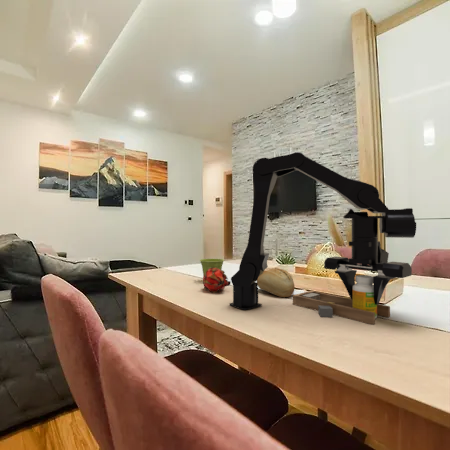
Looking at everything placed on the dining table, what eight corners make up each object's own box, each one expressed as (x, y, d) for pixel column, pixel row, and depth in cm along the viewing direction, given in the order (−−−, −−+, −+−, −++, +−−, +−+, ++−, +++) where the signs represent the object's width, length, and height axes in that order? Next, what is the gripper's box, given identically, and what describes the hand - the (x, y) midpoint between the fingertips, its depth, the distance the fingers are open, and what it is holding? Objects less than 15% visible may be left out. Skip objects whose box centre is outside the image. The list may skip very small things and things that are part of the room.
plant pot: (202, 279, 120) (202, 258, 120) (225, 280, 119) (225, 258, 119) (197, 284, 111) (197, 261, 111) (222, 284, 110) (222, 261, 110)
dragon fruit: (211, 291, 106) (223, 304, 95) (193, 279, 103) (203, 291, 92) (225, 271, 107) (238, 282, 96) (207, 259, 104) (219, 268, 93)
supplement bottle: (367, 321, 68) (366, 279, 68) (347, 315, 73) (347, 275, 73) (382, 317, 70) (382, 277, 70) (362, 312, 75) (362, 273, 75)
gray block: (332, 317, 71) (332, 308, 71) (320, 316, 71) (320, 308, 71) (329, 313, 74) (329, 305, 74) (318, 313, 74) (318, 305, 74)
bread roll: (272, 287, 105) (272, 265, 105) (303, 296, 92) (303, 270, 92) (250, 290, 100) (250, 267, 100) (279, 300, 87) (279, 273, 87)
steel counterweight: (309, 305, 81) (309, 297, 81) (301, 304, 83) (301, 295, 83) (319, 302, 84) (319, 294, 84) (312, 301, 86) (312, 292, 86)
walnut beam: (372, 324, 66) (372, 312, 66) (292, 304, 83) (292, 294, 83) (390, 316, 71) (390, 305, 71) (311, 298, 88) (311, 289, 88)
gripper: (420, 237, 69) (420, 304, 69) (345, 235, 84) (345, 290, 84) (401, 239, 62) (401, 313, 62) (322, 236, 77) (323, 296, 77)
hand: (364, 301), depth 72 cm, fingers closed on supplement bottle, 5 cm apart
